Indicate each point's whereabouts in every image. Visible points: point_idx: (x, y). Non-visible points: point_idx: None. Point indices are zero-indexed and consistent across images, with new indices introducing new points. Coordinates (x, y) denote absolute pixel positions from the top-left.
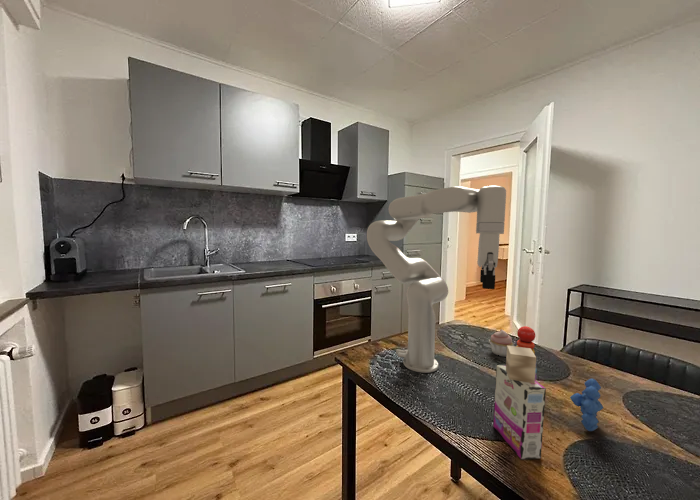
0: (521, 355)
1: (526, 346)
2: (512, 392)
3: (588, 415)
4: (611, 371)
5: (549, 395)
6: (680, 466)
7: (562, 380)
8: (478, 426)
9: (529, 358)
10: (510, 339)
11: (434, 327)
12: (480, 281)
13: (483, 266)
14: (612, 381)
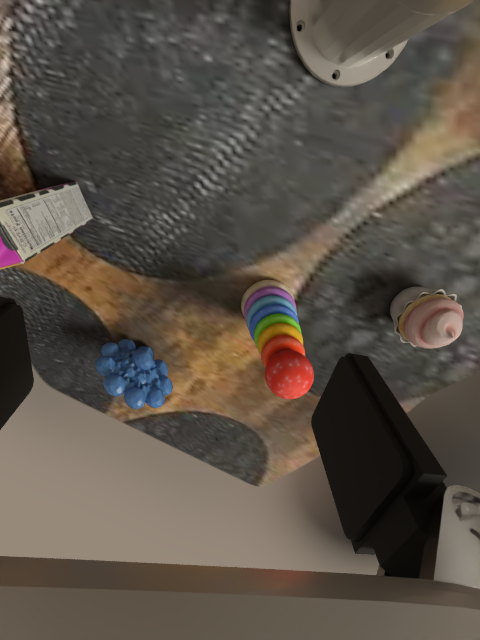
0: None
1: (262, 351)
2: None
3: (105, 353)
4: None
5: (225, 330)
6: (92, 399)
7: None
8: (62, 145)
9: None
10: (414, 342)
11: (395, 6)
12: (351, 355)
13: (423, 566)
14: (288, 434)
